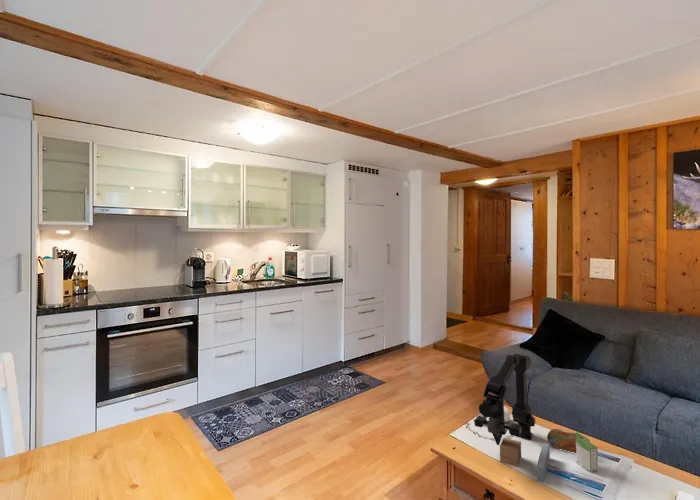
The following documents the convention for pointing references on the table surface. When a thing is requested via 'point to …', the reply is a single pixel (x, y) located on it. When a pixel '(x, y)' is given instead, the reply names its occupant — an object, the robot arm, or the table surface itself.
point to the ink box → (586, 453)
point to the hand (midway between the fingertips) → (498, 444)
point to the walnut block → (510, 452)
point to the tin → (562, 440)
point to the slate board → (543, 462)
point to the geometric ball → (506, 414)
